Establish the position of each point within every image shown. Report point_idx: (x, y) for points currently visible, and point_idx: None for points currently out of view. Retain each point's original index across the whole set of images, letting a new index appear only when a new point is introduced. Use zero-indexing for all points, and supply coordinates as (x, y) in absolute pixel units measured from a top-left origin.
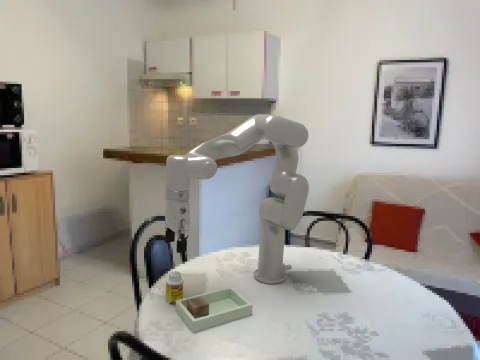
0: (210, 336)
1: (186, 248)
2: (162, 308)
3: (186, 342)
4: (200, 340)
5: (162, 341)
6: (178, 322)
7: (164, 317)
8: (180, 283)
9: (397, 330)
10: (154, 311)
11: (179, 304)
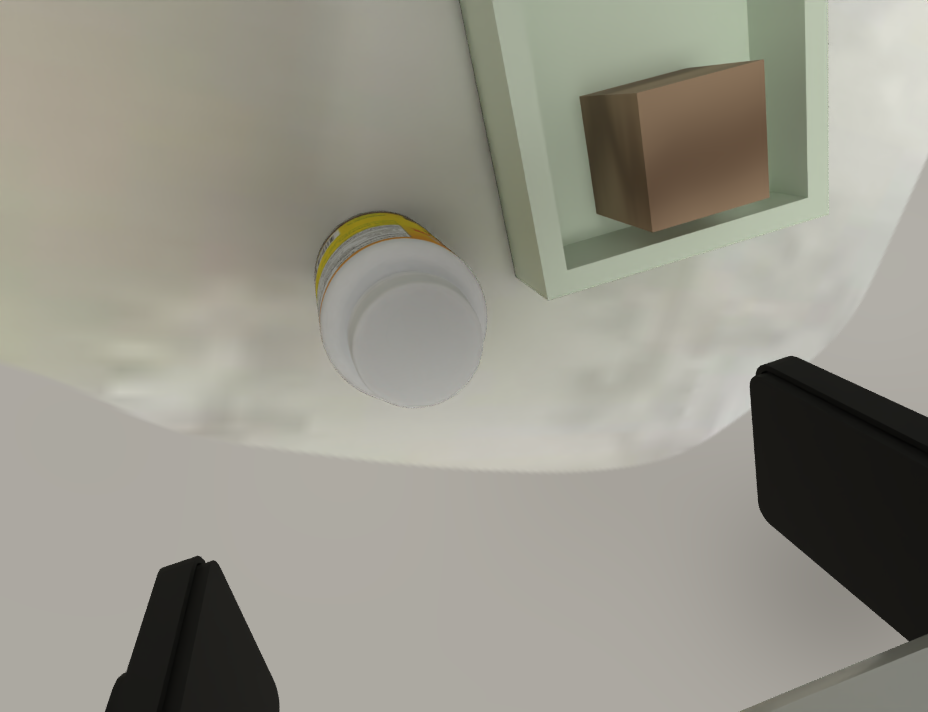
0: None
1: (828, 377)
2: None
3: (800, 247)
4: None
5: (746, 363)
6: None
7: (545, 347)
8: (474, 275)
9: None
10: (464, 403)
11: (610, 279)
